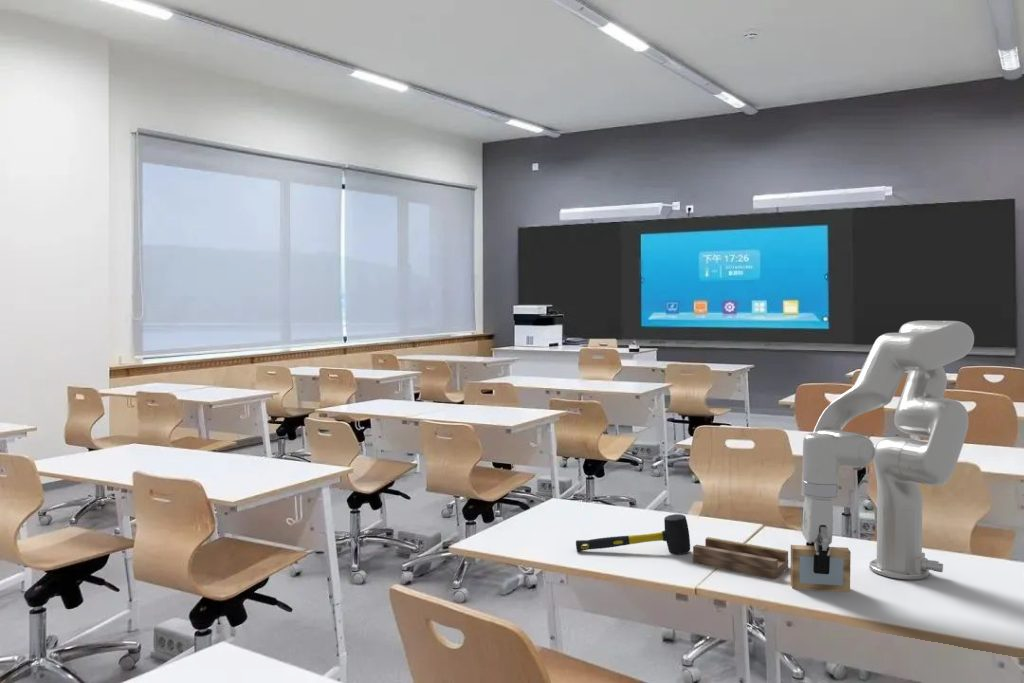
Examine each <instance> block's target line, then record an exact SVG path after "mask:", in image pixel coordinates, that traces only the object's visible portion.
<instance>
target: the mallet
mask: <svg viewBox="0 0 1024 683" xmlns="http://www.w3.org/2000/svg"><path fill="white" fill-rule="evenodd" d="M663 519H664V520H663V522H664V523H663V524H664V530H662V531H660V532H653V533H645V534H631V535H619V536H609V537H608V536H607V537H599V538H592V539H584V540H583V539H581V540H580V539H579V540H578V539H577V540H576V541H575V547H576V551H577V552H578V553H579V552H583V551H587V550H598V549H599V550H600V549H601V550H602V549H610V548H614V547H615V548H616V547H621V546H622V547H623V546H628V545H629V546H630V545H635V544H641V543H649V542H650V543H651V542H660V541H663V542H666V546H667V549H668V553H670V554H673V555H685V554H687V553H689V552H690V551H691V539H690V531H689V525H688V521H687V516H685V515H684V514H679V513H677V514H676V513H675V514H670V515H667V516H665V517H664V518H663Z"/></svg>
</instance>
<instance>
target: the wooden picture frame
mask: <svg viewBox="0 0 1024 683" xmlns="http://www.w3.org/2000/svg"><path fill="white" fill-rule="evenodd" d="M818 549H819V546H818ZM829 551H830V569H829V574H817V573H814V572H813V562H814V554H815V546H806V545H802V544H801V545H798V544H790V579H789V580H790V583H789V584H790V586H791V588H792V589H793V590H808V591H825V592H826V591H827V592H840V593H841V592H843V593H851V556H852V555H851V550H850V549H849V548H848V547H841V546H840V547H839V546H829Z"/></svg>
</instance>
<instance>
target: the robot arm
mask: <svg viewBox="0 0 1024 683" xmlns="http://www.w3.org/2000/svg"><path fill="white" fill-rule="evenodd" d="M974 344H975V334H974V331H973V330H972V328H971V326H969V325H968V324H967V323H965V322H963V321H958V320H913V321H908V322H906V323H904V324H902V325H901V326H900V328H899V330H898V332H886V333H883V334H881V335H880V336H878V337H877V338H876V339H875V340H874V343H873V345H872V346H871V349H870V351H869V353H868V354H867V357H866V359H865V361H864V363H863V365H862V368H861V370H860V372H859V373H858V376H857V378H856V379H855V382H854V384H853V385H852V386H851V388H849V389H848V390H847V391H845V392H843V393H842V394H840V395H839V396H838V397H837V398H836V399H834V400H833V401H832V402H831V403H830V404H828V406H827V407H826V408H825V409H824V410H823V411H822V413H821V414H820V416H819V418H818V420H817V422H816V425H815V426H814V429H813V431H812V433H807V434H805V436H804V438H803V439H802V440H803V441H802V467H801V468H802V469H801V470H802V472H801V492H800V493H801V496H802V497H803V498H804V501H803V509H802V510H803V513H802V526H801V534H802V536H803V538H804V539H805V540H806V542H805V546H815V554H814V562H813V572H814V573H817V574H829V569H830V551H829V547H830V545H831V544H832V542H833V530H834V503H833V502H834V500H838V499H839V479H840V478H839V476H840V475H839V474H840V473H839V471H840V467H848V468H849V467H850V468H862V467H865V466H867V465H869V464H870V463H871V462H872V461H873V462H872V463H873V466H874V472H875V478H876V487H877V488H876V490H877V497H876V498H877V499H876V500H877V501H876V502H877V503H876V504H877V505H876V508H877V509H876V510H877V511H876V512H877V514H876V525H877V526H876V558H875V559H872V560H871V561H870V562H869V569H870V570H871V571H872V572H874V573H876V574H878V575H881V576H884V577H888V578H892V579H898V580H908V581H909V580H910V581H911V580H912V581H913V580H914V581H915V580H924V579H926V578H928V577H929V576H930V571H933V572H937V573H943V572H944V563H940V562H939V560H938V561H937V560H933V559H932V560H930V559H928V558H926V553H925V552H923V506H924V505H923V495H922V492H921V489H920V487H919V485H918V484H922V485H927V486H936V487H937V486H942V485H944V484H946V483H947V482H948V481H949V480H950V479H951V477H952V476H953V474H954V472H955V469H956V466H957V464H958V461H959V458H960V454H961V452H962V450H963V446H964V444H965V441H966V436H967V433H968V430H969V423H970V422H969V414H968V411H967V409H966V407H965V405H963V403H962V402H960V401H958V400H956V399H953V398H952V399H951V398H947V397H944V395H945V393H946V389H947V386H948V377H947V373H946V371H945V369H944V366H947V365H949V364H951V363H953V362H956V361H958V360H960V359H963V358H964V357H966V356H967V355H968V354H969V353H970V351H971V350H972V349H973V346H974ZM906 371H907V377H906V379H905V383H904V386H903V390H902V392H901V395H900V397H899V401H898V403H897V406H896V410H895V412H894V417H893V421H894V422H893V423H894V426H895V427H896V429H897V430H898V431H900V432H901V433H904V434H907V435H910V436H917V437H922V438H928V441H925V440H924V441H923V440H919V439H914V438H907V437H901V436H900V437H899V436H889V437H885V438H883V439H881V440H880V441H879V440H878V442H877V443H876V445H875V444H874V442H873V441H872V440H871V439H870V438H869V437H867V436H866V435H863V434H861V433H856V432H852V431H851V432H850V431H845V430H843V429H844V428H845V427H846V425H848V423H849V422H850V421H852V420H853V419H854V418H857V417H859V416H860V415H862V414H865V413H868V412H871V411H874V410H877V409H879V408H882V407H885V406H887V405H889V404H890V403H891V402H892V400H893V398H894V396H895V393H896V391H897V390H898V387H899V385H900V383H901V381H902V378H903V376H904V374H905V372H906ZM818 546H819V549H818Z"/></svg>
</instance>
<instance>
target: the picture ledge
mask: <svg viewBox="0 0 1024 683" xmlns="http://www.w3.org/2000/svg"><path fill="white" fill-rule="evenodd" d="M704 544H705V545H701V544H695V545H694V546H692V564H695V565H696V564H697V565H702V566H707V567H712V568H716V569H722V570H726V571H727V570H728V571H731V572H737V573H743V574H747V575H752V576H757V577H764V578H768V579H774V580H775V579H776V578H777V577H779V576H780V575H782V573H784V572H785V571H786V570H787V569H789V550H785V549H779V548H774V547H768V546H762V545H756V544H752V543H746V542H740V541H734V540H727V539H721V538H715V537H711V536H707V537H705V543H704Z"/></svg>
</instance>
